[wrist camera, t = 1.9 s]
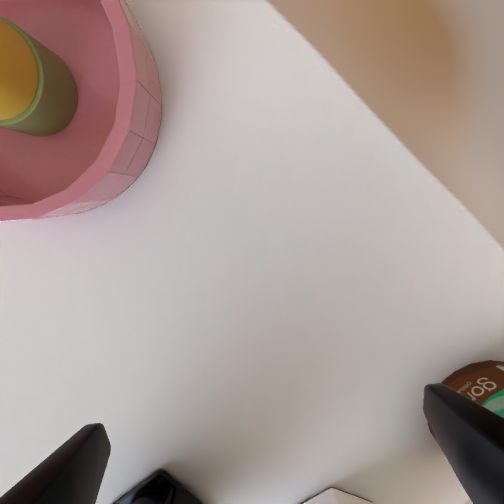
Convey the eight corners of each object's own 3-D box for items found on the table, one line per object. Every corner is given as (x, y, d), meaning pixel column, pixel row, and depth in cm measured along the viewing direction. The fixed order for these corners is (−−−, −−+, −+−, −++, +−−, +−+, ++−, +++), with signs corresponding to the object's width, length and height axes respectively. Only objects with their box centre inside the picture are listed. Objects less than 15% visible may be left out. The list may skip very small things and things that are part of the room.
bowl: (52, 257, 19) (-4, 277, 15) (-139, 76, 16) (-278, 33, 12) (210, 112, 18) (199, 86, 13) (27, -115, 15) (-63, -245, 10)
